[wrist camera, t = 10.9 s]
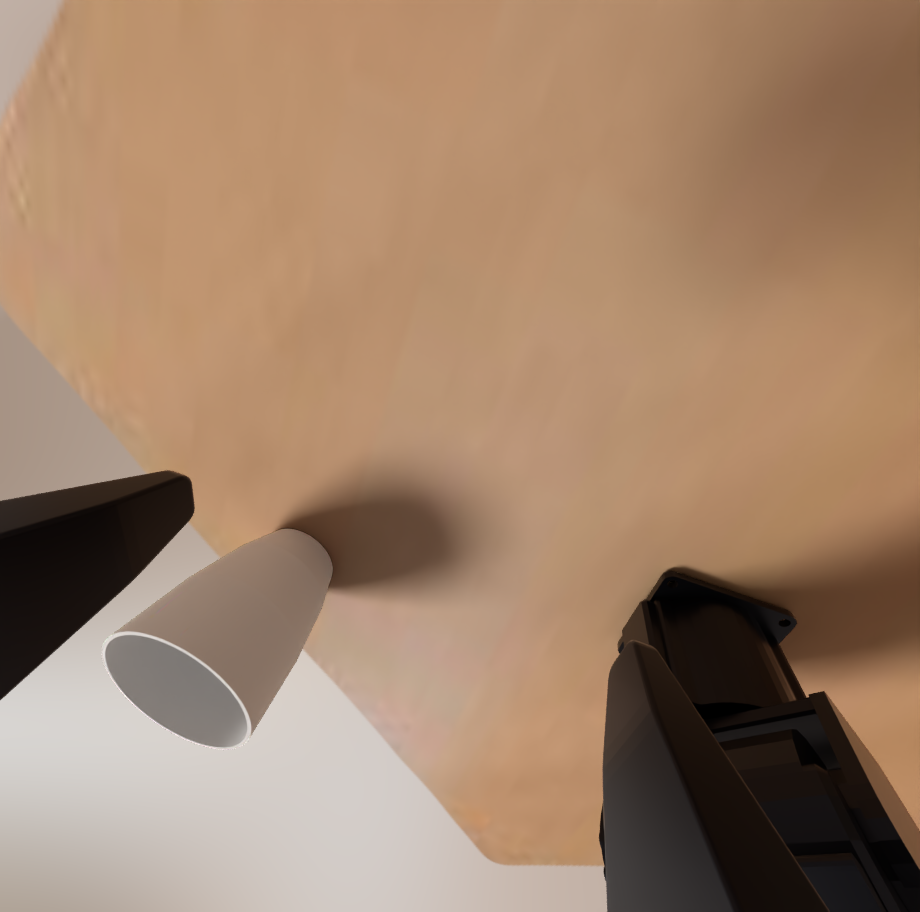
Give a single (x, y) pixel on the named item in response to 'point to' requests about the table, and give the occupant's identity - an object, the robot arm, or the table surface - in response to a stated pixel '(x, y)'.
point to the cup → (223, 639)
